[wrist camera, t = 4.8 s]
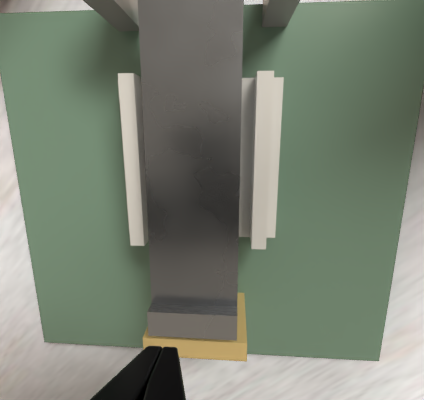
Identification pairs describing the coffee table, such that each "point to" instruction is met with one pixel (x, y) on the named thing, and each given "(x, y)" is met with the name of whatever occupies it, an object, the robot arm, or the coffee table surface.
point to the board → (249, 172)
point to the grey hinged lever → (192, 163)
